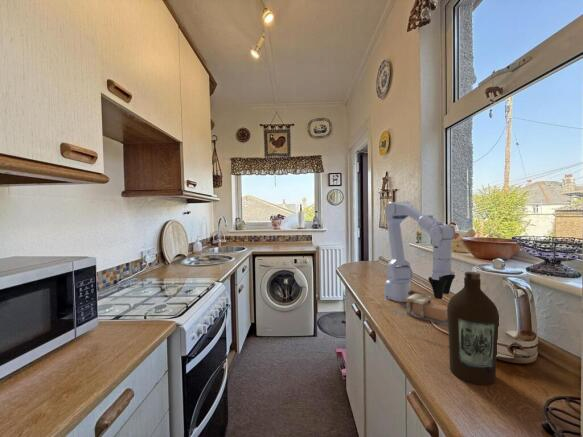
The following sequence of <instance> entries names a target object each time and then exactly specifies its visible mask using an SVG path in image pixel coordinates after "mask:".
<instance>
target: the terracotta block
mask: <svg viewBox="0 0 583 437" xmlns="http://www.w3.org/2000/svg"><path fill="white" fill-rule="evenodd" d="M412 307H413V308H412V309H413V313H414V314H418V315H420V304H419V303H414V302H412ZM447 307H448V306H445V305H441V304H436V303H432V302H431V303H427V302H426V303H424V316H426V317H430V318H434V319H438V320H442V321H446V320H447V319H448V315H447Z"/></svg>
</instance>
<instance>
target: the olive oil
mask: <svg viewBox="0 0 583 437" xmlns="http://www.w3.org/2000/svg"><path fill="white" fill-rule="evenodd" d="M480 277H481V273H479V272H475V271H465V272H464V278H463V285H464V286H463V288H461V289H460V290H458V292H456V293H455V294H453V296H452V297H450V299H449V301H448V304H447V306H446V307H447V315H448V325H447V327H448V329H447V332H448V346H449V347H448V348H449V352H448V353H449V356H448V357H449V369H450V372H451V373H452V374H453V375H454V376H456V377H457V378H459V379H461V381H462V380H463V381H465V382H467V383H471V384H474V385H480V386H489V385H491V384H494V383H495V381H496V375H497V374H496V373H497V357H496V355H497V340H498V327H499V316H500V315H499V310H498V308H497V306H496V304H495V303H494V302H493V301H492V299H491V298H490V297H489V296H487V294H486V293H485V292H483V290H482V288H481V283H482V282H481V281H482V280H481V278H480Z"/></svg>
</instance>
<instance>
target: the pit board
mask: <svg viewBox="0 0 583 437" xmlns="http://www.w3.org/2000/svg"><path fill="white" fill-rule="evenodd" d="M403 307H406V304H402V305H401V306H399V307H397V308H396V309H394V310H393V312H395V313H398V314H402V315H407V316H409V317H414V318H418V319H421V320H426V321H429V322H432V323H437V324H441V325H444V326H448V319H447V320H446V321H442V320H438V319H434V318H430V317H426V316H424V318H421V317H420V315H418V314H414V313H413V306H411V314H410V315H409V314H406V312H401V311H398V310H399V309H400V310H403V311H406V308H403Z"/></svg>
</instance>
